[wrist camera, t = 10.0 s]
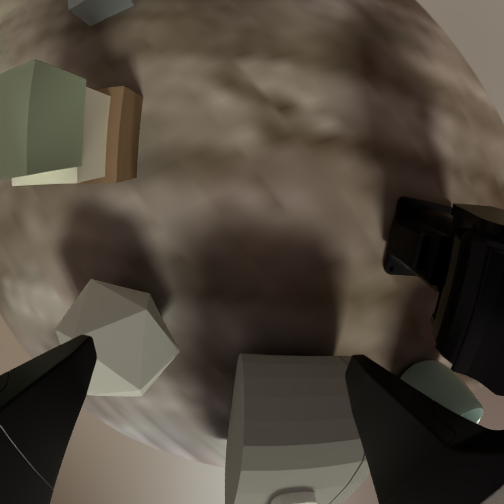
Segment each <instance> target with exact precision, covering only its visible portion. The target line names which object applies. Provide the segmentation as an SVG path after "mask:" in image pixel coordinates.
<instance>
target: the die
mask: <svg viewBox="0 0 504 504" xmlns="http://www.w3.org/2000/svg"><path fill="white" fill-rule="evenodd" d="M56 333H57V336H58V339H59V342H60V345H61V344H63V343H65V342H67V341H69V340H71V339H73V338H75V337H77V336H79V335H82V334H83V335H88V336H91V337H92V338H93V341H94V345H95V349H96V353H97V361H96V364H95V368H94V371H93V374H92V378H91V381H90V385H89V388H88V392H87V395H99V396H142V395H143V394H144V393H145V392H146V390H147V389H148V388H149V387H150V386H151V385H152V383H153V382H154V381H155V380H156V379H157V378H158V376H159V375H160V374H161V373H162V372H163V371H164V369H165V368H166V367H167V366H168V365H169V364H170V362H171V361H172V360H173V359H174V358H175V357H176V355H177V354H178V353H179V352H180V351H179V349H178V347H177V345H176V343H175V342H174V340H173V338H172V336H171V334H170V332H169V330H168V328H167V327H166V325H165V323H164V321H163V319H162V317H161V315H160V313H159V311H158V309H157V307H156V305H155V303H154V301H153V299H152V297H151V295H150V293H146V292H142V291H138V290H133V289H129V288H125V287H121V286H117V285H113V284H109V283H105V282H102V281H98V280H94V279H90V281H89V282H88V283H87V285H86V286H85V287H84V289H83V290H82V292H81V293H80V294H79V296H78V297H77V299H76V300H75V301H74V303H73V304H72V306H71V307H70V309H69V310H68V312H67V313H66V315H65V316H64V317H63V319H62V320H61V322H60V324H59V325H58V327H57V328H56Z"/></svg>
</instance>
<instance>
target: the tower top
mask: <svg viewBox="0 0 504 504" xmlns="http://www.w3.org/2000/svg"><path fill="white" fill-rule="evenodd" d="M110 99H111V96H108V95H106V94H103V93H101V92H98V91H96V90H93V89H91V88H88V87H86V90H85V100H84V114H83V134H82V166H80V167H73V168H67V169H61V170H55V171H49V172H43V173H38V174H33V175H28V176H21V177H15V178H12V186H20V185H38V184H64V183H80V182H84V181H88V180H92V179H96V178H101V177H105V160H106V142H107V128H108V117H109V108H110Z"/></svg>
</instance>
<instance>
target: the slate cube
mask: <svg viewBox="0 0 504 504" xmlns="http://www.w3.org/2000/svg"><path fill="white" fill-rule="evenodd" d="M133 6H135V5H134V0H68V10H69V11H70V12H72V13H73V14H74V15H76V16H77V17H78V18H80V19H81V20H82V21H83V22H85V23H86V24H87V25H89V26H90V27H91V26H93V25H95V24H97V23H99V22H101V21H103V20H105V19H107V18H109V17H111V16H113V15H115V14H117V13H119V12H121V11H124V10H126V9H128V8H131V7H133Z"/></svg>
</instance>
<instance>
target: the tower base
mask: <svg viewBox="0 0 504 504" xmlns="http://www.w3.org/2000/svg"><path fill="white" fill-rule="evenodd" d="M93 90H96V91H98V92H101V93H103V94H106V95H108V96H111V99H110V108H109V117H108V128H107V142H106V160H105V177H101V178H96V179H92V180H88V181H84V182H80V183H117V182H121V181H125V180H129V179H133V178H136V177H137V157H138V143H139V130H140V120H141V111H142V102H143V97H142V96H141V95H139V94H137V93H136V92H134V91H132V90H131V89H129V88H127V87H126V86H118V87H108V88H99V89H93Z"/></svg>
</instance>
